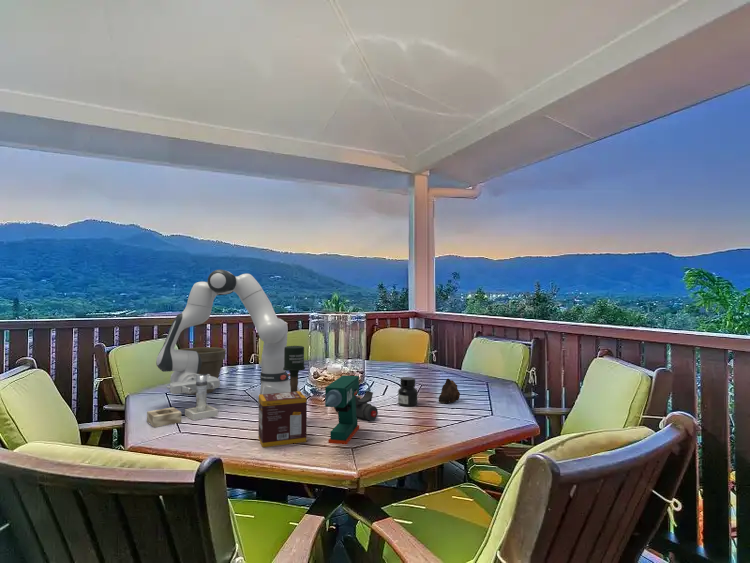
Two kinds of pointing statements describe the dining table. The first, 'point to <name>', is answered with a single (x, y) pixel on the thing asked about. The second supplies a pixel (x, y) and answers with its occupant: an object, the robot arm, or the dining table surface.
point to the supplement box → (282, 418)
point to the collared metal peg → (201, 393)
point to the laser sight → (365, 407)
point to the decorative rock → (449, 392)
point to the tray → (201, 413)
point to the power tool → (343, 407)
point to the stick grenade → (294, 363)
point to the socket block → (163, 417)
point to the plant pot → (210, 361)
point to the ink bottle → (407, 392)
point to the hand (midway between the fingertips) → (201, 388)
